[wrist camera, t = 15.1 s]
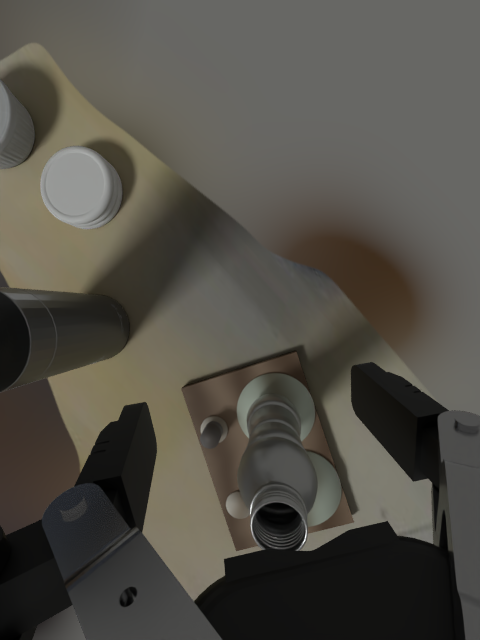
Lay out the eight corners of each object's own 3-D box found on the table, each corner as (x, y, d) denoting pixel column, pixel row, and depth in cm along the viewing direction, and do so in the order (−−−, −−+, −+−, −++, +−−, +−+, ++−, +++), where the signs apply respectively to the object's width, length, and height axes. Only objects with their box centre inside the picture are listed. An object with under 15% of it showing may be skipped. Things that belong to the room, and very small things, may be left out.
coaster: (56, 159, 42) (37, 145, 39) (123, 155, 41) (110, 141, 38) (57, 231, 43) (38, 224, 39) (124, 229, 41) (111, 222, 38)
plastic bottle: (280, 379, 38) (293, 456, 18) (309, 424, 38) (353, 550, 18) (238, 405, 39) (206, 506, 19) (266, 449, 39) (264, 598, 19)
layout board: (237, 543, 41) (233, 570, 37) (183, 386, 41) (173, 394, 37) (351, 515, 39) (360, 540, 35) (295, 350, 39) (298, 355, 35)
